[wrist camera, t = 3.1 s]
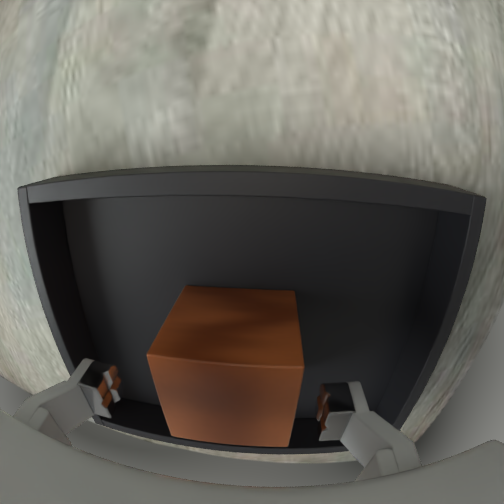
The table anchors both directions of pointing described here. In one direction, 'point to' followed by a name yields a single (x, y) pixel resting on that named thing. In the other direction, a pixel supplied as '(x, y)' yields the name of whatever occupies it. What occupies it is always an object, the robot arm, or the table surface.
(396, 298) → the baking pan
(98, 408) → the robot arm
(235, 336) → the block
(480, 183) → the table surface
